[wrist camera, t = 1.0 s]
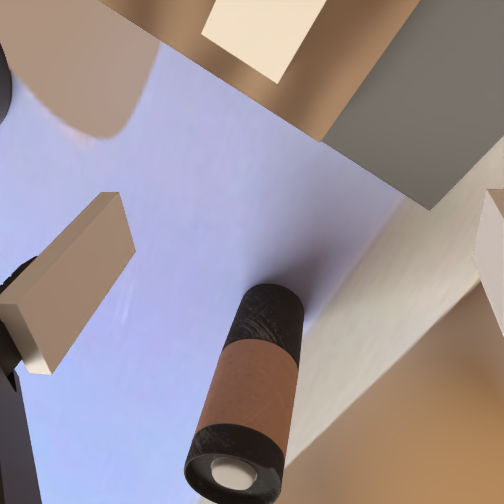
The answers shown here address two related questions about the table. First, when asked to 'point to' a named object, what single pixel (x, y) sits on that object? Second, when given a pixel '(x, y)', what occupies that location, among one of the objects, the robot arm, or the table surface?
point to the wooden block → (303, 63)
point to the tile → (262, 31)
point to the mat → (429, 100)
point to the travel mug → (250, 402)
